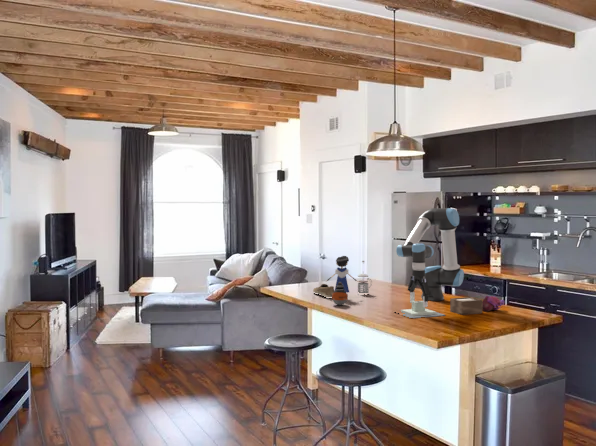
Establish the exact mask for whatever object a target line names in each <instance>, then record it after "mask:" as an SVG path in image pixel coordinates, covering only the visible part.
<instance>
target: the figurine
mask: <svg viewBox="0 0 596 446" xmlns="http://www.w3.org/2000/svg"><path fill="white" fill-rule="evenodd" d="M349 260H350V258H349V257H348V256H347V255H342V256H338V257H337V258H336V259H335V264H336V266H337V267H336V269H335V271H334V274H333V275H331V277H329V278H327V280H326V282H328V281H329V280H331V279H332V278H333V277H334V276H335V275H337V278H336V283H335V286H334V291H335V290H336V286H337V285H338V282H342V285H344V286H343V287H345V288H344V289H343V290H344V291H345V292H346V291H347V292H346V293H350V289H349V285H348V284H349V283H348V279H347V275H348V276H350V277H351V278H352V279H353V280H354V281H355V282H356V283H359V282H358V281H359V280H357V279H356V278H355V277H353V276H352V275H351V274H350V273H349V269H348V268H347V265H348V264H349V263H348V262H349ZM345 289H346V290H345Z"/></svg>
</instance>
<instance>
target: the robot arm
mask: <svg viewBox="0 0 596 446" xmlns="http://www.w3.org/2000/svg"><path fill="white" fill-rule="evenodd" d="M459 225H460V214H459V212H458V211H457V209H456V208H453V207H451V208H449V207H443V208H442V207H441V208H437V207H434V208H429V209H428V210H425V211H424V212H423V213H421V214H420V215H419V217H418V218H417V220H416V224H415V226H414V227H413V229H412V231H411V232H410V233H409V235H408V237H407V238H406V240H405V241H404V243H403V244H399V245H397V246H396V250H395V252H396V255H397V256H398V257H402V258H411V259H412V263H411V266H412V270H411V272H412V274H411V276H410V280H409V283H408V286H407V291H408V292H409V303H410V304H412V301H416V300H415V299H416V298H415V290H416V288H417V287H418V286H419V288H420V290H421V292H422V293H421V298H422V299H421V300H422V301H423V307H425V308H428V306H429V305H428V304H429V303H428V300H431V301H430V302H441V301H444V300H445V297H444V293H443V289H442V286H449V287H460V286H461V285H462V284H463V281H464V278H465V272H464V270H463V269H461V265H460V264H458V255H457V243H456V232H455V231H456V229H457V228H458V227H457V226H459ZM433 226H434V227H435V226H437V229H438V231H440V233H441V243H442V253H443V254H442V255H443V256H442V257H443V265H433V266H432V265H431V266H426V259H430V258H432V257H433V255H434V253H435V250H434V248H433V247H432V245H427V244H426V245H425V244H424V243H420V241H421V240H422V238H423V236H424V235H425V233H426V231H427V230H429V229H430V228H431V227H433Z"/></svg>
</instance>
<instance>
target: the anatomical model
mask: <svg viewBox="0 0 596 446" xmlns="http://www.w3.org/2000/svg"><path fill="white" fill-rule="evenodd" d="M482 300H483V305H482V312H489V311H497V310H500V309H501V308H502V306H504V305H505V300H504V299H501V300H500V299H499V298H498V297H496V295H493V296H492V295H490V296H488V295H486V296H485V298H483V299H482Z"/></svg>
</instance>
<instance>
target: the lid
mask: <svg viewBox="0 0 596 446" xmlns="http://www.w3.org/2000/svg"><path fill="white" fill-rule="evenodd" d="M400 311H401V312H402V313H405V314H408V315H411V316H420V315H432V314H436V312H437V311H435V310H432V309H428V308H427V307H423V300H415V301H412V303H411V308H408V309H407V308H406V309H400Z"/></svg>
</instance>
